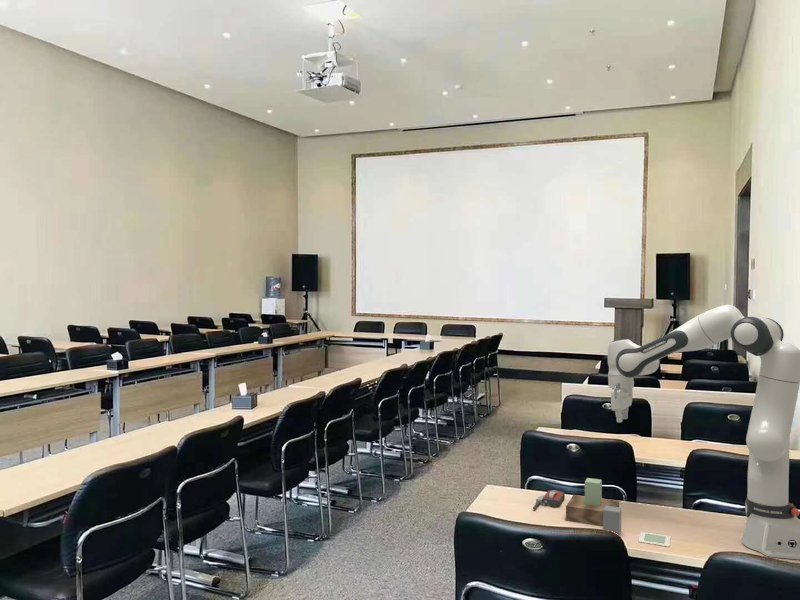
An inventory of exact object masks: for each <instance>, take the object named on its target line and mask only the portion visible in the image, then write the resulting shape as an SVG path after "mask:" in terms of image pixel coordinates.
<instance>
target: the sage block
mask: <svg viewBox="0 0 800 600" xmlns="http://www.w3.org/2000/svg"><path fill="white" fill-rule="evenodd" d="M602 493H603V480H602V479H598V478H589V477H586V479H585V481H584V496H585V505H592V506H599V507H600V505H601V503H602V499H603V494H602Z"/></svg>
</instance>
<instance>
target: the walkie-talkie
mask: <svg viewBox="0 0 800 600" xmlns="http://www.w3.org/2000/svg"><path fill="white" fill-rule="evenodd" d="M565 497H566V496H565V493H564V492H563V490H562V491H560V490H554V489H550V490H548V491H547V492H546V493H545V494H544V495H543V494H542V495H539V496H538V497H537V498H536V499H535V504H534V506H533V507H532V510H534V511H535V510H536V509H537V508H538V506H543V507H550V508H557V509H558V508H561V506H562V504H563V503H564V501H565Z"/></svg>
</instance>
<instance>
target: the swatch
mask: <svg viewBox="0 0 800 600" xmlns="http://www.w3.org/2000/svg"><path fill="white" fill-rule="evenodd" d="M638 537H639V538H638V543H640V542H642V544H646V543H650V544H649V545H652V544H656V545H655V546H659V545H661V546H660V547H665V546H667V547H666V548H670V544H671V540H672V539H671V537H672V536H670V535H665V534H658V533H650V532H645V531H640V534H639V536H638Z"/></svg>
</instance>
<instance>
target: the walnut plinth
mask: <svg viewBox="0 0 800 600" xmlns="http://www.w3.org/2000/svg"><path fill="white" fill-rule="evenodd" d="M605 505H606V506H613V507H620V500H615V499H610V498H608V499H607V498H602V503H601V505H600V507H599V506H592V505H585V495H579V494H573V495H572V496H571V498H570V500H568V502H567V503H566V505H565V521H568V522H574V523H580V524H587V525H593V526H600V527H603V510H604V508H605Z"/></svg>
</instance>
